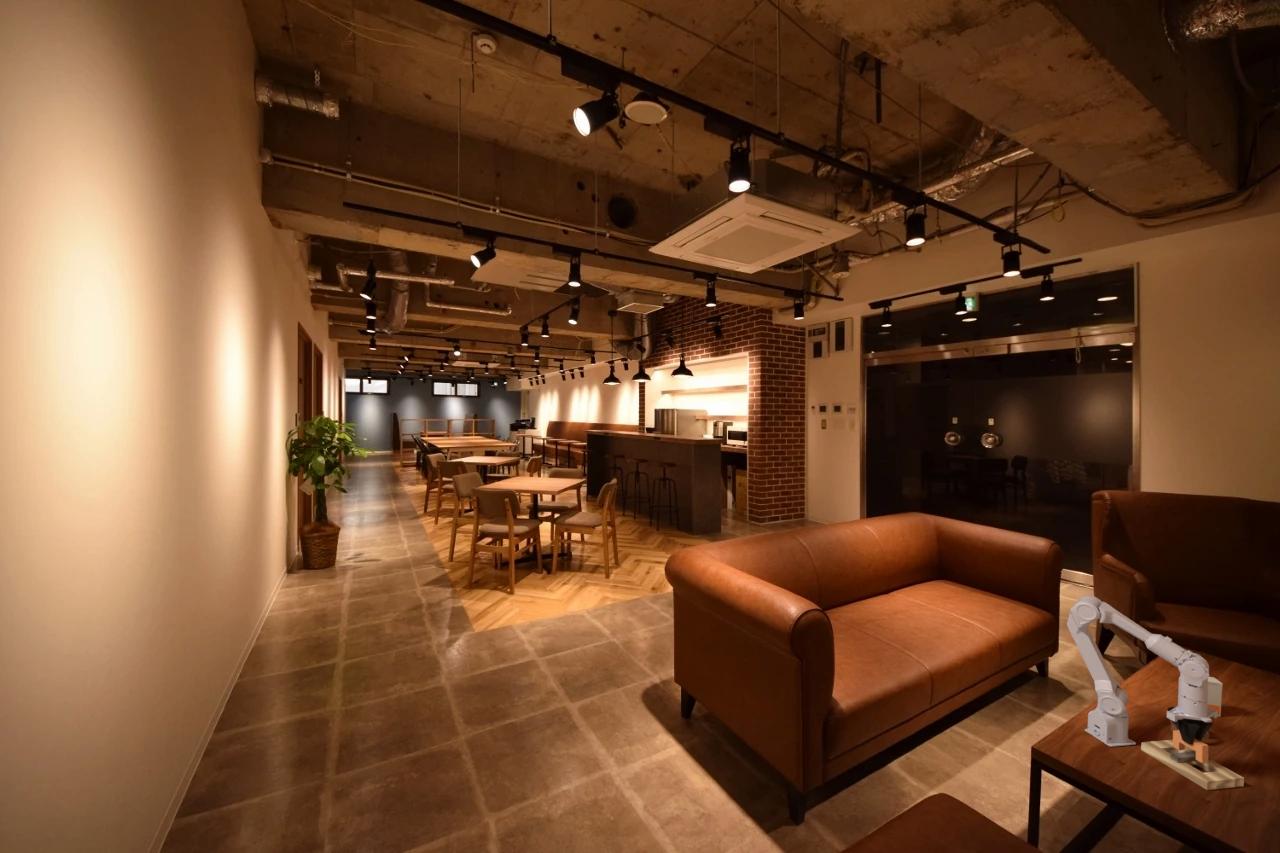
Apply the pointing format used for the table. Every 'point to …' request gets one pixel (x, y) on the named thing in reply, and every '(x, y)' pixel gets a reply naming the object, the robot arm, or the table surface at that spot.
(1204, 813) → the table surface
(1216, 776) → the light wood flat frame
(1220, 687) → the skincare box
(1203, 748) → the orange hook block
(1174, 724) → the pottery mug
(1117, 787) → the table surface
